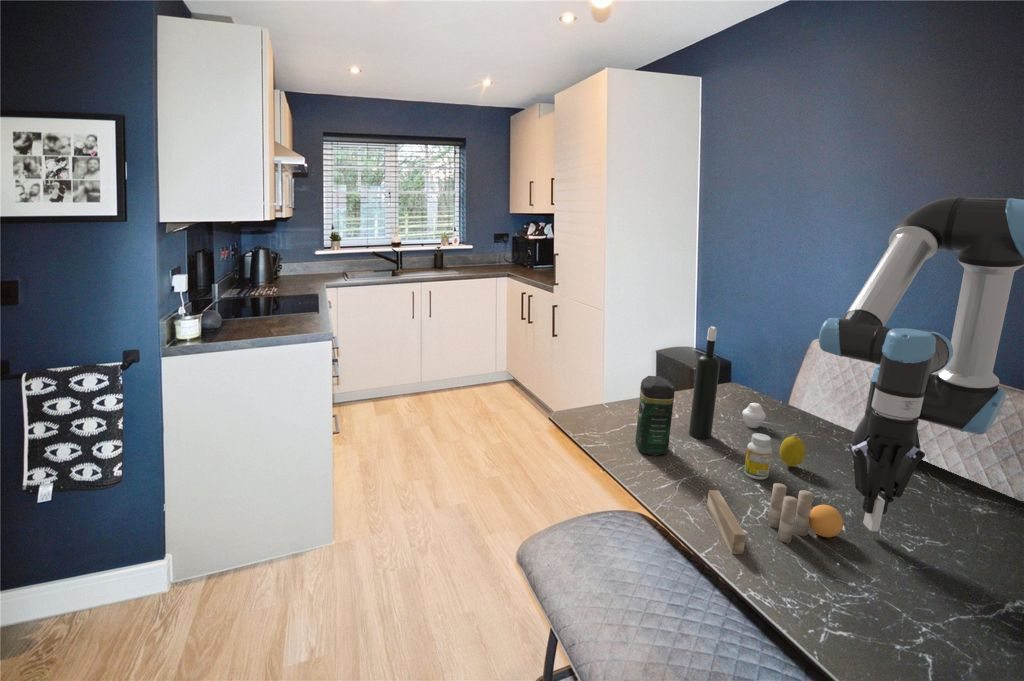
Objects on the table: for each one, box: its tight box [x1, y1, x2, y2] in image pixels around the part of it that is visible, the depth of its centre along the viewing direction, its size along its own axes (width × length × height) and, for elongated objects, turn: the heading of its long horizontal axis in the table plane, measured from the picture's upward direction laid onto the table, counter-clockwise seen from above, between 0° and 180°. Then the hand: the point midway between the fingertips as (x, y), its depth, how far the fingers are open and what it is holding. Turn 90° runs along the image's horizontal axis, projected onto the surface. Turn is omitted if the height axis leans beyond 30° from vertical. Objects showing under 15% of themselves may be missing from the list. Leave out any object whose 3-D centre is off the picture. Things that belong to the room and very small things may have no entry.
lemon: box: [779, 435, 806, 467], centre depth 141 cm, size 6×6×8 cm
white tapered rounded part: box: [741, 402, 767, 429], centre depth 165 cm, size 6×6×7 cm
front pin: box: [793, 489, 814, 537], centre depth 113 cm, size 2×2×8 cm
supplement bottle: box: [743, 432, 773, 480], centre depth 136 cm, size 5×5×10 cm
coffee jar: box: [634, 375, 676, 456], centre depth 147 cm, size 10×8×19 cm
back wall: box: [706, 489, 747, 555], centre depth 114 cm, size 2×16×4 cm, turn 178°
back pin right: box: [766, 482, 788, 529], centre depth 116 cm, size 2×2×8 cm
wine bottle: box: [688, 325, 721, 440], centre depth 155 cm, size 6×6×30 cm
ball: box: [809, 504, 844, 538], centre depth 113 cm, size 6×6×6 cm
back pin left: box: [776, 495, 798, 544], centre depth 111 cm, size 2×2×8 cm
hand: (870, 527), depth 114 cm, fingers closed
